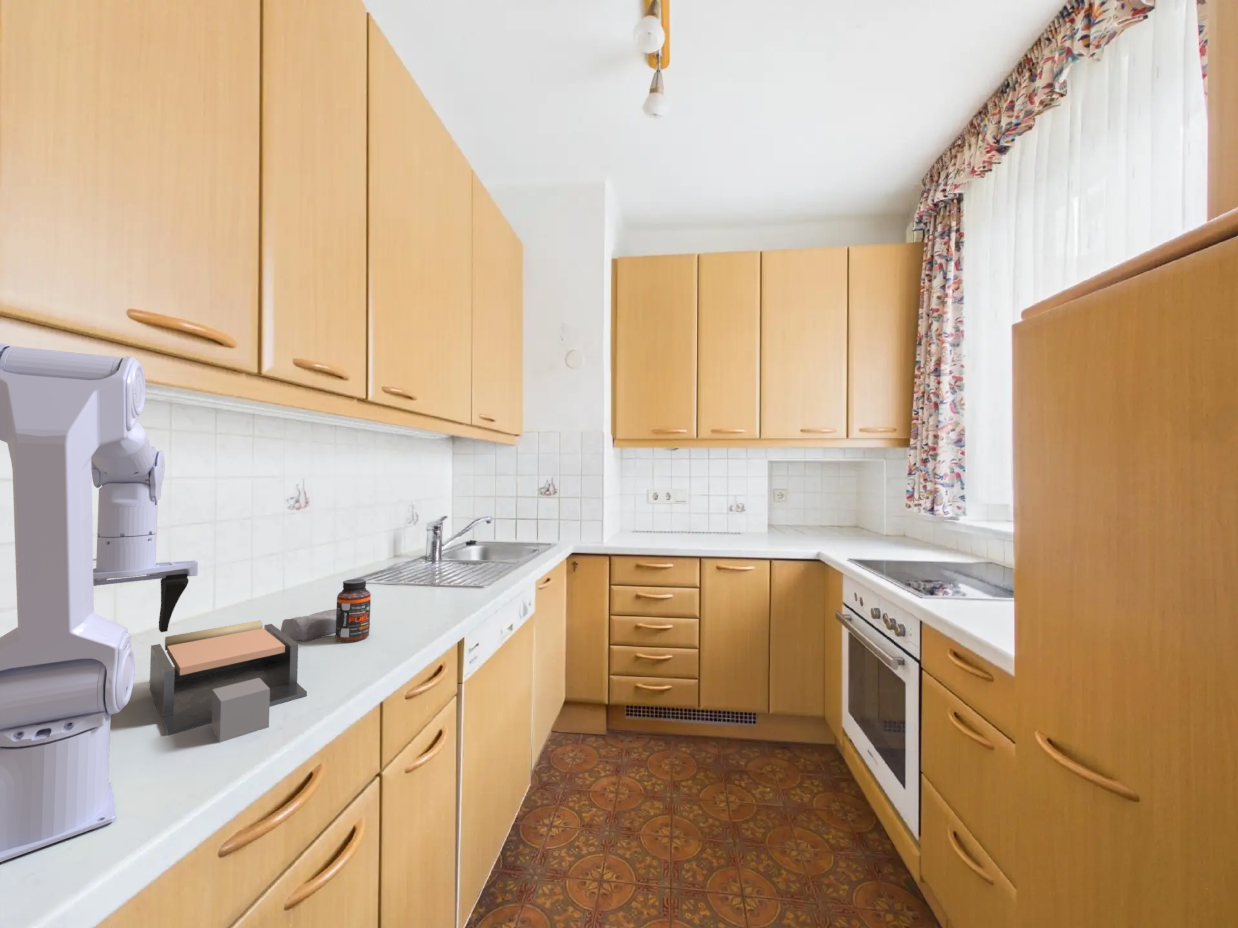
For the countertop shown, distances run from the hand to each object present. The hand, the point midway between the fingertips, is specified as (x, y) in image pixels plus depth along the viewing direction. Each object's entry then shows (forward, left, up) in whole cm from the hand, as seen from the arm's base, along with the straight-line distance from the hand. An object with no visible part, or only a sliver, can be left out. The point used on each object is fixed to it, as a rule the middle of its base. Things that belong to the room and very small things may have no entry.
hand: (124, 636), depth 67 cm
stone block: (+30, +21, -11) cm, 38 cm away
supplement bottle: (+33, +11, -11) cm, 36 cm away
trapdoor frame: (+11, -2, -10) cm, 15 cm away
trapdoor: (+11, +1, -5) cm, 12 cm away
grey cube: (+10, -15, -10) cm, 21 cm away
